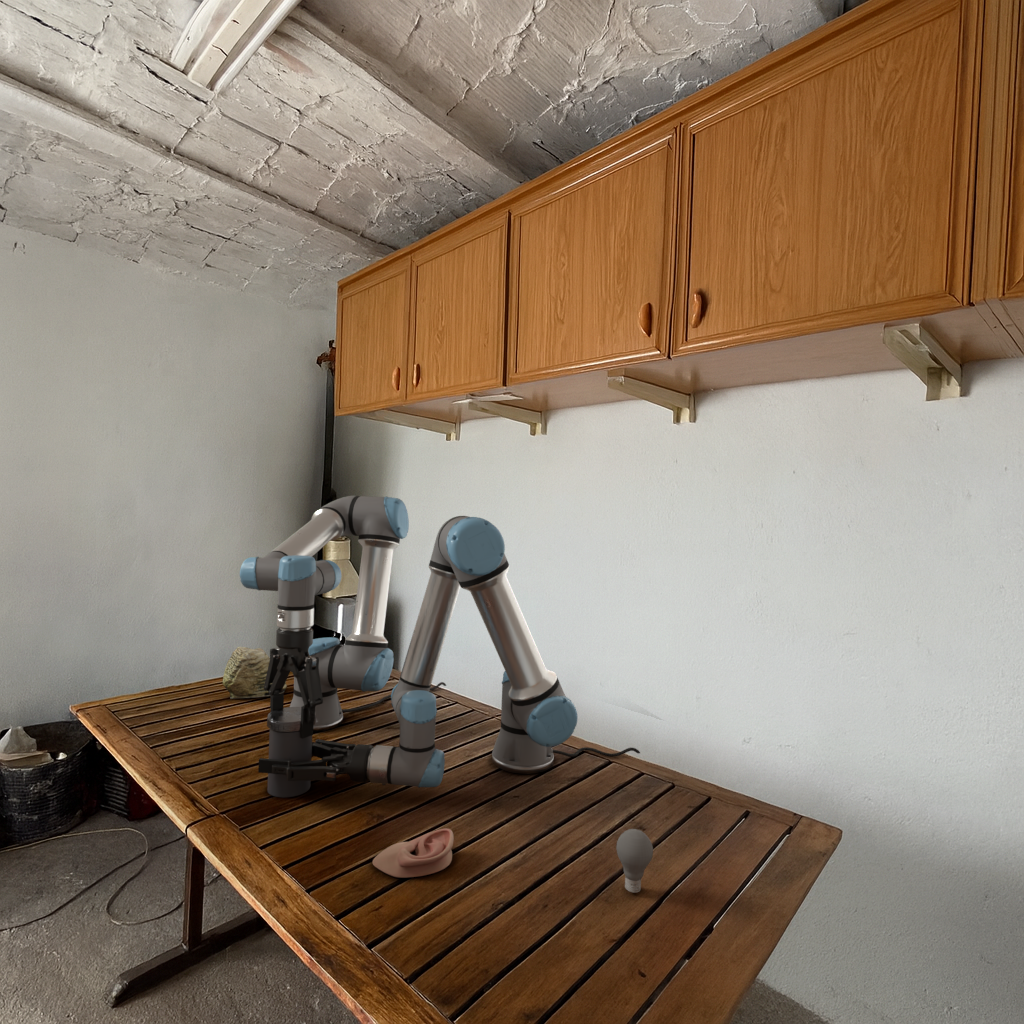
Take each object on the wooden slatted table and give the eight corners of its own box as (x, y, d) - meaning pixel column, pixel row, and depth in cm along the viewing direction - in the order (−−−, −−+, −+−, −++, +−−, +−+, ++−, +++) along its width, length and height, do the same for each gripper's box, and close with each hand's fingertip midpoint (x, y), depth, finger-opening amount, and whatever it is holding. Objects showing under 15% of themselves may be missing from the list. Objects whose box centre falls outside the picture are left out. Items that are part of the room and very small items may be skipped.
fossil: (218, 695, 195) (220, 647, 195) (278, 685, 208) (279, 640, 207) (228, 703, 189) (230, 653, 188) (289, 692, 201) (290, 645, 201)
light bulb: (610, 879, 108) (613, 822, 108) (644, 879, 109) (647, 822, 109) (619, 902, 102) (622, 840, 102) (655, 901, 103) (658, 840, 103)
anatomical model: (365, 849, 107) (391, 816, 119) (364, 872, 107) (390, 837, 119) (440, 861, 105) (459, 827, 116) (439, 885, 105) (459, 848, 116)
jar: (313, 793, 135) (316, 721, 135) (270, 800, 131) (272, 726, 131) (306, 776, 143) (309, 708, 143) (265, 782, 139) (267, 712, 139)
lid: (322, 717, 142) (322, 708, 142) (305, 733, 132) (305, 723, 132) (279, 714, 142) (279, 705, 142) (258, 730, 132) (258, 720, 132)
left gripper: (248, 622, 140) (245, 722, 140) (314, 638, 127) (309, 748, 127) (278, 618, 146) (274, 714, 146) (343, 633, 133) (339, 738, 134)
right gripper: (354, 805, 125) (244, 796, 127) (384, 760, 147) (290, 753, 148) (356, 767, 125) (245, 759, 127) (386, 728, 146) (291, 721, 148)
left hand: (291, 730), depth 137 cm, fingers closed on lid, 10 cm apart
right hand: (269, 756), depth 137 cm, fingers closed on jar, 9 cm apart
